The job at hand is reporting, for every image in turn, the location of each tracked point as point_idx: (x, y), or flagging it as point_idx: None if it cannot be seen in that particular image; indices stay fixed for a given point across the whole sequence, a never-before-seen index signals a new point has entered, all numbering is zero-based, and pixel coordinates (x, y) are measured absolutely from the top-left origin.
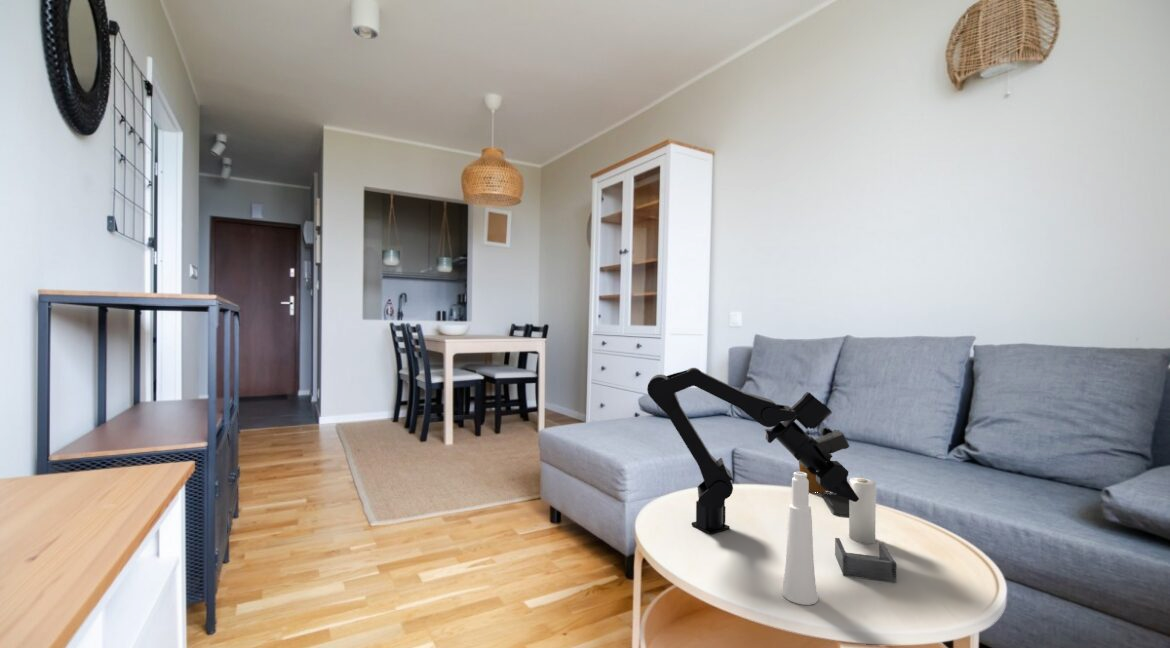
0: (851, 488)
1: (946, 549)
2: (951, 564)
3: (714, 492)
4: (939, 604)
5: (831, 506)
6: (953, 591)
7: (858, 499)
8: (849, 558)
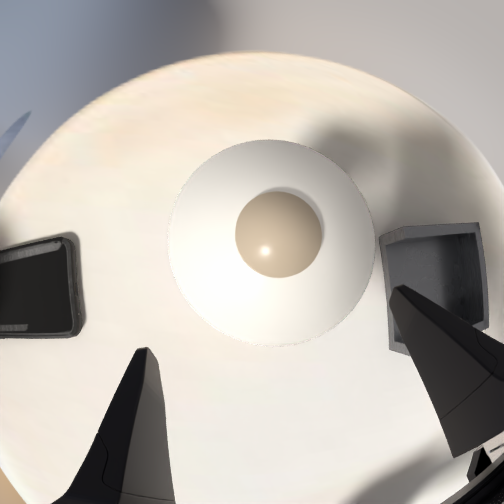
0: (470, 326)
1: (235, 87)
2: (320, 100)
3: None
4: (474, 183)
5: (33, 331)
6: (431, 143)
7: (401, 286)
8: (487, 315)
